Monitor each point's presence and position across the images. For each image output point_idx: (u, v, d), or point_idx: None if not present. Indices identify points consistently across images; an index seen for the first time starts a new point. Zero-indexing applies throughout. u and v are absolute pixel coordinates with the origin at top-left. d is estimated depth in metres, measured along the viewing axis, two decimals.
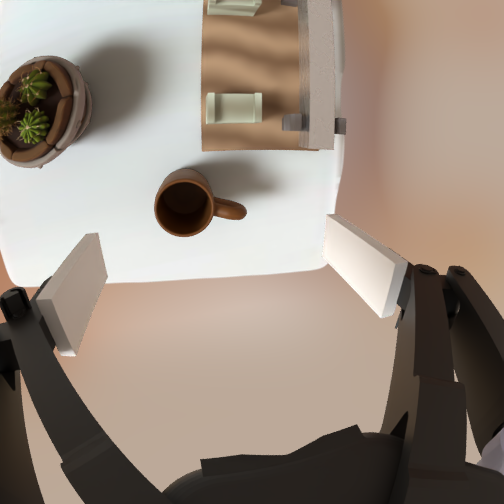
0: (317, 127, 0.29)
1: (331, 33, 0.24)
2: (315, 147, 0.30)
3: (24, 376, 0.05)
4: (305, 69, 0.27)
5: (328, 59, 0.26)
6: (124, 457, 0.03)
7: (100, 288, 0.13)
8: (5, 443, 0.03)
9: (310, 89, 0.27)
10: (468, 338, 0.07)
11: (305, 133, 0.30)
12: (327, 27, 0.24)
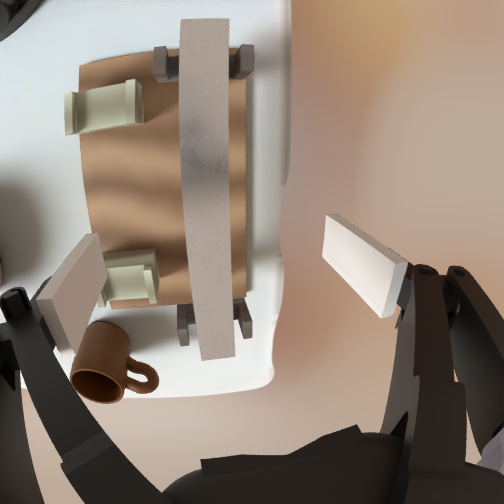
0: (210, 340, 0.24)
1: (225, 199, 0.19)
2: (210, 358, 0.25)
3: (24, 376, 0.05)
4: None
5: (219, 249, 0.21)
6: (124, 457, 0.03)
7: (100, 288, 0.13)
8: (5, 443, 0.03)
9: (193, 301, 0.22)
10: (468, 338, 0.07)
11: None
12: (218, 186, 0.19)
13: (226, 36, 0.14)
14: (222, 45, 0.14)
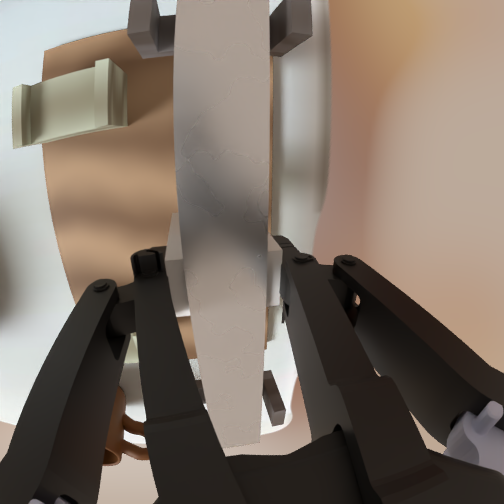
0: (229, 432, 0.16)
1: (260, 265, 0.11)
2: (227, 446, 0.17)
3: (138, 332, 0.07)
4: None
5: (247, 338, 0.12)
6: (215, 435, 0.04)
7: None
8: (86, 413, 0.05)
9: (206, 398, 0.14)
10: (382, 335, 0.08)
11: None
12: (249, 243, 0.11)
13: None
14: None
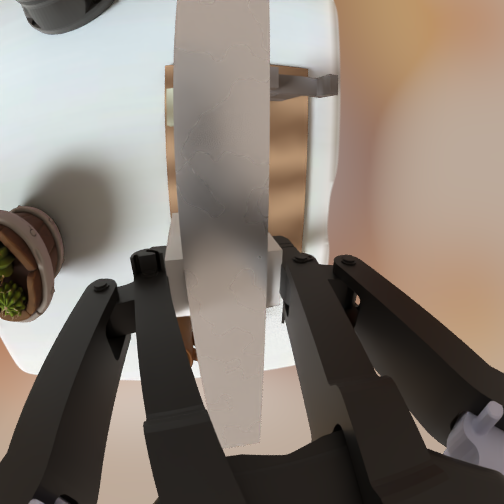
0: (229, 432, 0.16)
1: (259, 266, 0.11)
2: (227, 446, 0.17)
3: (137, 332, 0.07)
4: None
5: (247, 339, 0.12)
6: (215, 435, 0.04)
7: None
8: (85, 413, 0.05)
9: (207, 399, 0.14)
10: (382, 335, 0.08)
11: None
12: (249, 245, 0.11)
13: None
14: None
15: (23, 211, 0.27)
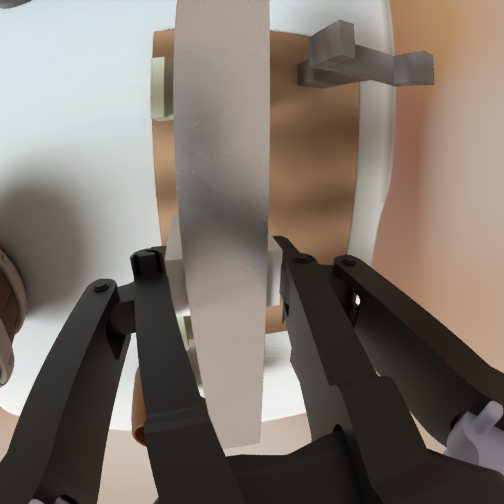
0: (229, 433, 0.16)
1: (259, 266, 0.11)
2: (228, 447, 0.17)
3: (138, 332, 0.07)
4: None
5: (247, 339, 0.12)
6: (215, 435, 0.04)
7: None
8: (85, 413, 0.05)
9: (207, 399, 0.14)
10: (382, 335, 0.08)
11: None
12: (249, 245, 0.11)
13: None
14: None
15: None
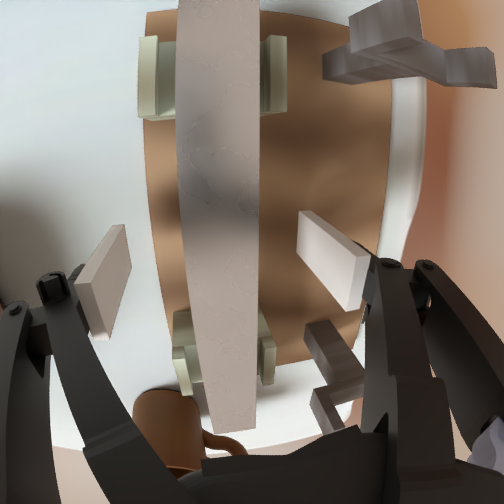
0: (225, 416, 0.17)
1: (252, 250, 0.12)
2: (224, 431, 0.18)
3: (56, 359, 0.06)
4: None
5: (241, 320, 0.14)
6: (150, 447, 0.03)
7: (126, 277, 0.14)
8: (26, 431, 0.04)
9: (204, 380, 0.15)
10: (443, 334, 0.08)
11: None
12: (242, 231, 0.12)
13: None
14: (249, 2, 0.08)
15: None
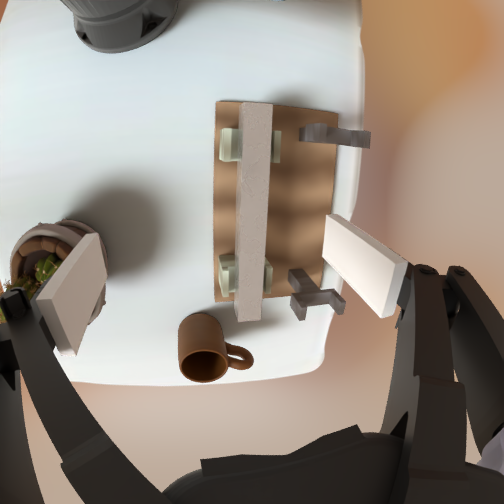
0: (245, 306, 0.37)
1: (264, 214, 0.33)
2: (243, 320, 0.38)
3: (24, 376, 0.05)
4: (237, 252, 0.35)
5: (259, 244, 0.34)
6: (124, 457, 0.03)
7: (100, 288, 0.13)
8: (5, 443, 0.03)
9: (239, 277, 0.35)
10: (468, 338, 0.07)
11: (236, 307, 0.38)
12: (261, 207, 0.33)
13: (270, 116, 0.29)
14: (268, 122, 0.29)
15: (69, 225, 0.33)
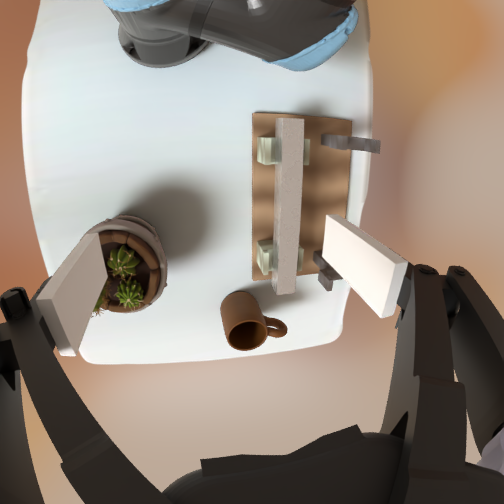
0: (283, 281, 0.46)
1: (299, 206, 0.41)
2: (281, 293, 0.47)
3: (24, 376, 0.05)
4: (276, 238, 0.44)
5: (294, 230, 0.43)
6: (124, 457, 0.03)
7: (100, 288, 0.13)
8: (5, 443, 0.03)
9: (279, 257, 0.44)
10: (468, 338, 0.07)
11: (275, 283, 0.47)
12: (296, 201, 0.41)
13: (302, 129, 0.36)
14: (301, 133, 0.37)
15: (127, 220, 0.41)
